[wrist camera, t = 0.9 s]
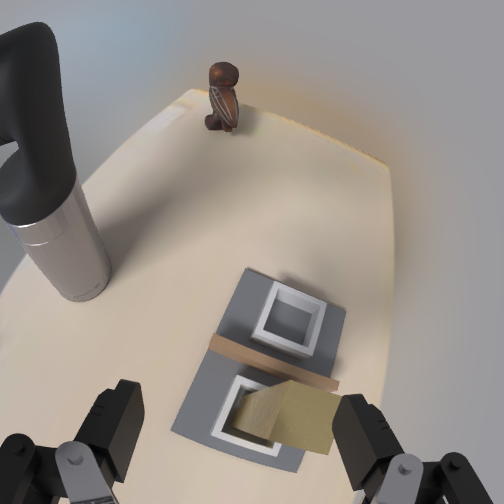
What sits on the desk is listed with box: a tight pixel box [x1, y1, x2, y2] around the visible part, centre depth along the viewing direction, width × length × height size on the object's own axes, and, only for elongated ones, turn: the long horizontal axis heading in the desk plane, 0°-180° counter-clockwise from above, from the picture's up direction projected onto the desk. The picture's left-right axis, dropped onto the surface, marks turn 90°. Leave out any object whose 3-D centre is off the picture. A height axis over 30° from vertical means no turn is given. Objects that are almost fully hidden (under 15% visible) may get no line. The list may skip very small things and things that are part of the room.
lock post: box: [230, 380, 342, 455], centre depth 22 cm, size 4×4×18 cm
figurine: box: [205, 62, 239, 132], centre depth 52 cm, size 13×6×15 cm, turn 22°
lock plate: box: [170, 269, 346, 473], centre depth 32 cm, size 24×16×4 cm, turn 159°
